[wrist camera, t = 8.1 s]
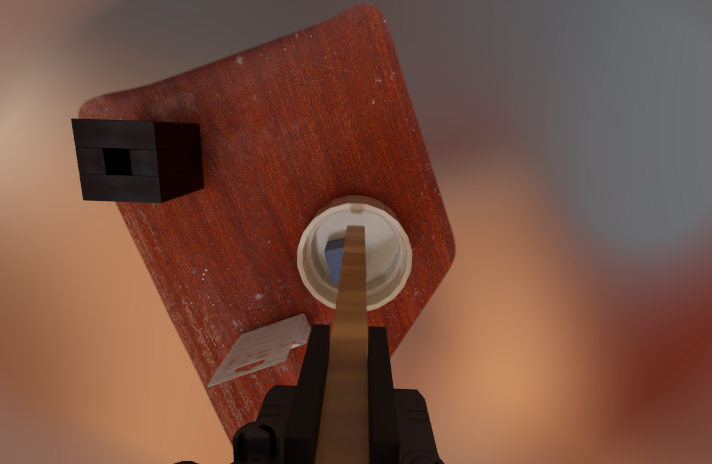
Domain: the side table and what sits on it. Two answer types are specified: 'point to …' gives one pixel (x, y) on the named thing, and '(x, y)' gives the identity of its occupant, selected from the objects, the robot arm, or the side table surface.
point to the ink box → (263, 347)
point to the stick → (347, 364)
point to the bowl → (382, 249)
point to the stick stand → (137, 159)
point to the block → (335, 258)
